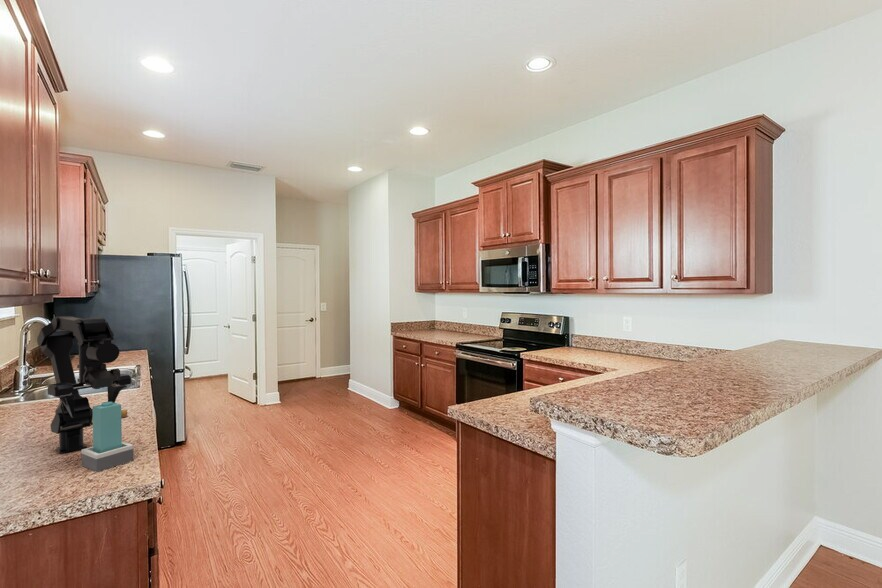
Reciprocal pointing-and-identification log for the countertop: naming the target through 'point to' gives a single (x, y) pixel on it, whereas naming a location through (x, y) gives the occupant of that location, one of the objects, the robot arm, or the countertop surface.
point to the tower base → (107, 457)
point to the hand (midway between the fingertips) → (92, 413)
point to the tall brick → (107, 427)
